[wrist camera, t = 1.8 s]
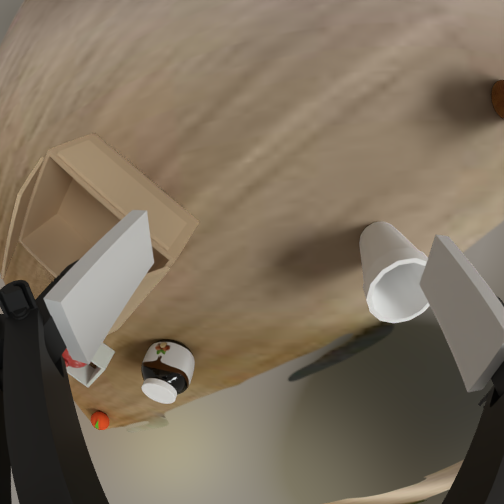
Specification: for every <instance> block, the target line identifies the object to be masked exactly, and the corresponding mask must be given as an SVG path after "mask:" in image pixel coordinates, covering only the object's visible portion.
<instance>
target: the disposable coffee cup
mask: <svg viewBox="0 0 504 504" xmlns="http://www.w3.org/2000/svg"><path fill="white" fill-rule="evenodd" d="M491 96H492V103H493V106H494V109H495V111H496V112H497V114H498V115H499V116H500V117H502V118H504V80H500V81H497V82H496V83H495V84H494V86H493V88H492V94H491Z"/></svg>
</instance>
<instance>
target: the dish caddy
mask: <svg viewBox="0 0 504 504" xmlns="http://www.w3.org/2000/svg"><path fill="white" fill-rule="evenodd" d="M114 352H115V351H114V350H112V349H111V348H109V347H108V346H107V345H105V344H104V343H103V342H102V344H101V345H100V347H99V349H98V350H97V352H96V354H95V355H94V357H93V359H92V360H91V362H92V363H94V364H95V365H96V366H97V368H96V369H94V368H93V367H91V366H90V365H89V364H87V365H86V366H84V367H81V368H73V367H70V366H68V367H66V369H67V373H68V374H70V375H71V376H72V377H74V378H75V379H77V380H78V381H79V382H81V383H82V384H84V385H85V386H86V387H89V386H90V385H91V384H92V383H93V382H94V381H95V380H96V379H97V378H98V377H99V376H100V375H101V373H102V372H103V371H104V370H105V369H106V367H107V365H108V363H109V362H110V360H111V358H112V356H113V354H114Z"/></svg>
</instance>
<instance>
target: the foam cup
mask: <svg viewBox="0 0 504 504" xmlns="http://www.w3.org/2000/svg"><path fill="white" fill-rule="evenodd" d="M359 247H360V254H361V262H362V270H363V279H364V284H363V290H364V293H365V296H366V300H367V303H368V307H369V310H370V312H371V313H372V314H373V315H374V316H375V317H376V318H378V319H379V320H380V321H385V322H390V323H397V322H403V321H408V320H411V319H413V318H414V317H416V316H418V315H420V314H421V313H423V312H424V311H425V310H426V309H427V308H428V307H429V306H430V304H429V302H428V300H427V298H426V297H425V295H424V293H423V291H422V289H421V287H420V285H419V283H420V280H421V277H422V274H423V272H424V269H425V266H426V263H427V260H428V257H427V256H426V255H425V254H424V253H423V252H422V251H419V250H418V249H417V248H416V247H415V246H414V245H413V244H412V243H411V242H410V241H409V240H408V239H407V238H406V237H405V236H404V235H402V234H401V233H400V232H399V231H398V230H397V229H396V228H395V227H394V226H393V225H391V224H389V223H386V222H383V221H381V222H374V223H372V224H371V225H369V226H367V227H366V228H365V229H364V231H363V232H362V234H361V236H360V241H359Z"/></svg>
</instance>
